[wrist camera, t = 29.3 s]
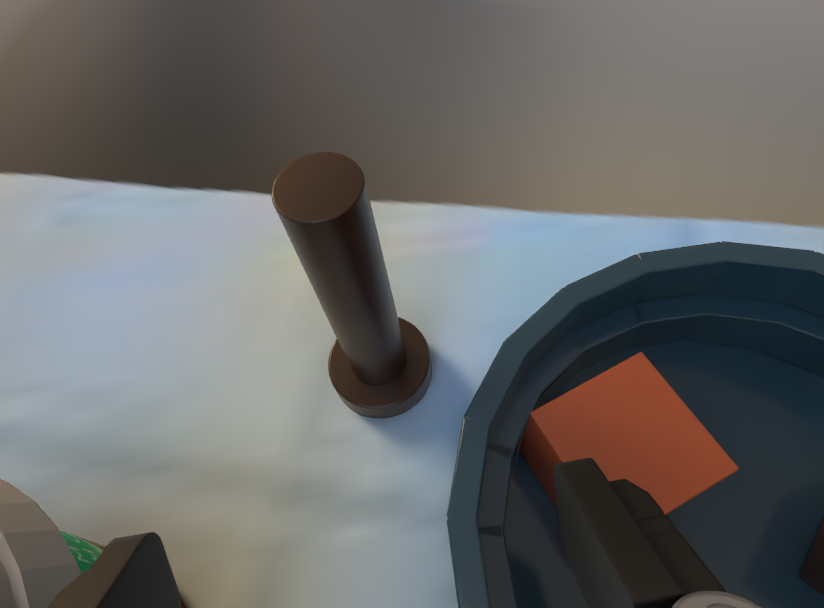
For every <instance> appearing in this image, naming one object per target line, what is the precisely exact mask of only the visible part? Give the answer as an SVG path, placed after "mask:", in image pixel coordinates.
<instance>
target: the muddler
mask: <svg viewBox="0 0 824 608" xmlns="http://www.w3.org/2000/svg"><path fill="white" fill-rule="evenodd" d="M272 201H273V204H274V206H275V208H276V211H277V213H278V215H279V217H280V219H281V221H282V223H283V225H284V227H285V230H286V232H287V234H288V236H289V238H290V240H291V242H292V244H293V246H294V249H295V251H296V253H297V255H298V257H299V259H300V261H301V263H302V265H303V267H304V270H305V272H306V274H307V276H308V278H309V280H310V282H311V284H312V286H313V289H314V291H315V293H316V295H317V297H318V299H319V301H320V303H321V305H322V308H323V310H324V312H325V314H326V316H327V318H328V320H329V322H330V324H331V327H332V329H333V331H334V333H335V335H336V337H337V340H336V341H335V343H334V345H333V347H332V349H331V352H330V356H329V362H328V369H329V375H330V379H331V382H332V384H333V386H334V388H335V389H336V391H337V393H338V394H339V396H340V398H341V399H342V401H343V402H344V403H345V404H346V405H347V406H348V407H349V408H351V409H352V410H353V411H355V412H357V413H359V414H361V415H364V416H367V417H373V418H386V417H392V416H396V415H398V414H401V413H403V412H405V411H407V410H408V409H410V408H411V407H413V406H414V405H415V404H416V403H417V402H418V401H419V400H420V399H421V398H422V396H423V395H424V393H425V392H426V390H427V388H428V386H429V382H430V379H431V371H432V366H431V359H430V352H429V348H428V344H427V342H426V340H425V338H424V336H423V335H422V333H421V332H420V331H419V330H418V329H417V328H416V327H415V326H414V325H412V324H411V323H410V322H408V321H406V320H404V319H401V318H399V317H397V313H396V308H395V304H394V300H393V296H392V292H391V288H390V283H389V279H388V275H387V271H386V267H385V263H384V258H383V254H382V250H381V246H380V242H379V238H378V233H377V229H376V225H375V221H374V217H373V212H372V208H371V204H370V200H369V196H368V192H367V188H366V183H365V179H364V175H363V172H362V170H361V169H360V167H359V166H358V165H357V164H356V163H355V162H354V161H353V160H352V159H350V158H348V157H347V156H344V155H341V154H338V153H333V152H319V153H313V154H309V155H305V156H303V157H300V158H298V159H296V160H295V161H293V162H291V163H290V164H288V165H287V166H286V167H285V168H284V169H283V170H282V171H281V172H280V173H279V175H278V176H277V178H276V180H275V182H274V184H273V188H272Z"/></svg>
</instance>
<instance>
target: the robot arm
mask: <svg viewBox="0 0 824 608" xmlns="http://www.w3.org/2000/svg"><path fill="white" fill-rule="evenodd" d="M553 473H554V482H555V491H556V499H557V507H558V516H559V524H560V532H561V537H562V542H563V546H564V550H565V553H566V557H567V560H568V562H569V565H570V567H571V569H572V572H573V574H574V576H575V578H576V581H577V583H578V585H579V587H580V590H581V592H582V594H583V596H584V598H585V601H586V603H587V605H588V607H589V608H762V607H760V606H758V605H757V604H755V603H753V602H751V601H749V600H747V599H745V598H743V597H740V596H737V595H734V594H730V593H728V592H727V591H726V590H725V589H724V587H723V586H722V585H721V583H720V582H719V581H718V580H717V578H716V577H715V576H714V575H713V573H712V572H711V571H710V570H709V568H708V567H707V566H706V564H705V563H704V562H703V561H702V559H701V558H700V557H699V556H698V554H697V553H696V552H695V551H694V549H693V548H692V547H691V545H690V544H689V543H688V542H687V540H686V539H685V538H684V537H683V535H682V534H681V533H680V532H679V531H677V530H676V526H675V525H674V524H673V523H672V521H671V520H670V519H669V518H668V516H667V515H664V512H663V510H662V509H661V507H660V506H659V505H658V504H657V502H656V501H655V500H654V499H653V497H652V496H651V495H650V494H649V492H647V491H645V490H644V489H642V488H640V487H639V486H637V485H635V484H634V483H632V482H630V481H629V480H627V479H620V480H615V481H608V479H607V478H606V476H605V475H604V474H603V472H602V471H601V469H600V468H599V466H598V465H597V463H596V462H595V461H594V459H593V458H591V457H590V458H585V459H579V460H573V461H567V462H562V463H556V464H554V467H553ZM48 608H181V599H180V594H179V591H178V588H177V585H176V582H175V579H174V576H173V573H172V570H171V567H170V564H169V561H168V558H167V555H166V552H165V549H164V546H163V543H162V541H161V539H160V537H159V536H158V535H157V534H156V533H154V532H150V533H144V534H139V535H133V536H127V537H121V538H116V539H113V540H112V541H111V542H110V543H109V544H108V545H107V546H106V548H105V549H104V550H103V552H102V553H101V554H100V556H99V557H98V558H97V560H96V561H95V562H94V564H93V565H92V566H91V567H90V569H89V570H86V571H84V572H83V573H82V574H81V575H80V576H78V577H77V578H76V579H75V580H74V581H73V582H71V583H70V584H69V585H68V586H67V587H65V588H64V589H63V590H62V591H61V592H59V594H58V595H57V596H56V597H55V599H54V600H53V601H52V603H51V604H50V605H49V606H48Z"/></svg>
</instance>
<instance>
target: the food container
mask: <svg viewBox="0 0 824 608" xmlns="http://www.w3.org/2000/svg"><path fill="white" fill-rule="evenodd" d="M105 548H106V547H105V546H102V545H99V544H97V543H94V542H91V541H88V540H85V539H82V538H79V537H76V536H73V535H70V534H68V533H65V532H62V531H60V530H59V529H58V528H57V526H56V525H55V524H54V523H53V522H52V521H51V519H50V518H49V517H48V516H47V515H46V514H45V512H44V511H43V510H42V509H41V508H40V507H39V506H38V504H37V503H36V502H34V501H33V500H32V499H30V498H29V497H28V496H26V495H25V494H23V493H22V492H21V491H19V490H18V489H17V488H15V487H14V486H12V485H11V484H10V483H8V482H5V481H3V480H1V479H0V608H48V606H49V605H50V604H51V603H52V601H53V600H54V599H55V597H56V596H57V595H58V594H59V592H61V591H62V590H63V589H64V588H65V587H67V586H68V585H69V584H70V583H71V582H73V581H74V580H75V579H76V578H77V577H78V576H80V575H81V574H82V573H83V572H84V571H86V570H89V569H90V567H91V566H92V565H93V564H94V562H95V561H96V560H97V558H98V557H99V556H100V554H101V553H102V552H103V550H104V549H105ZM180 599H181V608H187V607H186V605H185V604H184V602H183V600H182V598H181V597H180Z"/></svg>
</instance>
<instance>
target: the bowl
mask: <svg viewBox="0 0 824 608" xmlns="http://www.w3.org/2000/svg"><path fill="white" fill-rule="evenodd" d="M640 352H642V353H643V354H644V355H645V356H646V358H647V359H648V360H649V361H650V362H651V364H652V365H653V366H654V367H655V368H656V370H657V371H658V372H659V373H660V374H661V376H662V377H663V378H664V379H665V380H666V382H667V383H668V384H669V385H670V386H671V388H672V389H673V390H674V391H675V392H676V394H677V395H678V396H679V397H680V398H681V400H682V401H683V402H684V403H685V404H686V406H687V407H688V408H689V409H690V410H691V412H692V413H693V414H694V415H695V416H696V418H697V419H698V420H699V421H700V422H701V424H702V425H703V426H704V427H705V428H706V429H707V431H708V432H709V433H710V434H711V435H712V437H713V438H714V439H715V440H716V441H717V443H718V444H719V445H720V446H721V447H722V449H723V450H724V451H725V452H726V453H727V455H728V456H729V457H730V458H731V459H732V461H733V462H734V463H735V464H736V465H737V467H738V468H739V469H738V471H736V472H735V473H733V474H732V475H730V476H728V477H727V478H725V479H723V480H722V481H720V482H718V483H717V484H715V485H714V486H712V487H710V488H709V489H707V490H705V491H704V492H702V493H701V494H699V495H697V496H696V497H694V498H692V499H691V500H689V501H687V502H686V503H684V504H683V505H681V506H679V507H678V508H676V509H674V510H673V511H671V512H670V513H668V514H666V515H667V516H668V518H669V519H670V520H671V521H672V523H673V524H674V525H675V526H676V530H677V531H679V532H680V533H681V534H682V535H683V537H684V538H685V539H686V540H687V542H688V543H689V544H690V545H691V547H692V548H693V549H694V551H695V552H696V553H697V554H698V556H699V557H700V558H701V559H702V561H703V562H704V563H705V564H706V566H707V567H708V568H709V570H710V571H711V572H712V573H713V575H714V576H715V577H716V578H717V580H718V581H719V582H720V583H721V585H722V586H723V587H724V589H725V590H726V591H727V592H728V593H730V594H734V595H737V596H740V597H743V598H745V599H747V600H749V601H751V602H753V603H755V604H757V605H758V606H760V607H762V608H824V594H823V593H822V592H820V591H818V590H817V589H815V588H814V587H812V586H811V585H809V584H808V583H806V582H805V581H803V580H802V579H801V578H800V577H799V575H800V573H801V570H802V568H803V566H804V563H805V561H806V558H807V556H808V554H809V551H810V549H811V546H812V544H813V542H814V539H815V537H816V535H817V532H818V530H819V527H820V525H821V523H822V520H823V518H824V254H821V253H818V252H814V251H810V250H801V249H791V248H781V247H772V246H762V245H752V244H743V243H733V242H721V243H720V242H716V243H709V244H702V245H695V246H688V247H681V248H674V249H667V250H660V251H653V252H646V253H640V254H638V255H633V256H631V257H629V258H627V259H624V260H622V261H620V262H618V263H615V264H613V265H611V266H609V267H607V268H604V269H602V270H600V271H598V272H595V273H593V274H591V275H589V276H587V277H584V278H582V279H580V280H578V281H575V282H573V283H571V284H569V285H567V286H565V288H562V289H561V290H560V291H558V292H557V293H556V294H555V295H554V296H553V297H552V298H551V299H550V300H549V301H548V302H546V303H545V304H544V305H543V306H542V307H541V308H540V309H539V310H538V311H537V312H536V313H534V314H533V315H532V316H531V317H530V318H529V319H528V320H527V321H526V322H525V323H524V324H522V325H521V326H520V327H519V328H518V329H517V330H516V331H515V332H514V333H513V334H512V335H511V336H509V337H508V338H507V339H506V341H504V342H503V344H502V346H501V348H500V350H499V351H498V353H497V355H496V357H495V359H494V361H493V363H492V365H491V366H490V368H489V370H488V372H487V374H486V376H485V378H484V379H483V381H482V383H481V385H480V387H479V389H478V391H477V393H476V394H475V396H474V398H473V400H472V402H471V404H470V406H469V408H468V409H467V411H466V413H465V415H464V419H463V422H462V428H461V434H460V440H459V446H458V452H457V458H456V464H455V470H454V476H453V482H452V488H451V494H450V500H449V506H448V512H447V517H448V519H447V525H448V533H449V541H450V548H451V556H452V563H453V571H454V578H455V586H456V594H457V601H458V608H589V607H588V605H587V603H586V601H585V598H584V596H583V594H582V592H581V590H580V587H579V585H578V583H577V581H576V578H575V576H574V574H573V572H572V569H571V567H570V565H569V562H568V560H567V557H566V553H565V550H564V546H563V542H562V537H561V532H560V524H559V516H558V511H557V509H556V508H555V506H554V504H553V503H552V501H551V500H550V498H549V496H548V495H547V493H546V492H545V490H544V488H543V487H542V485H541V484H540V482H539V480H538V479H537V477H536V476H535V474H534V473H533V471H532V469H531V468H530V466H529V465H528V463H527V461H526V460H525V458H524V457H523V455H522V453H521V452H520V446H521V442H522V439H523V436H524V432H525V429H526V425H527V422H528V419H529V415H530V413H531V412H532V411H534V410H536V409H537V408H539V407H541V406H543V405H545V404H547V403H548V402H550V401H552V400H554V399H556V398H558V397H559V396H561V395H563V394H565V393H567V392H568V391H570V390H572V389H574V388H576V387H578V386H579V385H581V384H583V383H585V382H587V381H589V380H590V379H592V378H594V377H596V376H598V375H599V374H601V373H603V372H605V371H607V370H609V369H610V368H612V367H614V366H616V365H618V364H619V363H621V362H623V361H625V360H627V359H629V358H630V357H632V356H634V355H636V354H638V353H640Z"/></svg>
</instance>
